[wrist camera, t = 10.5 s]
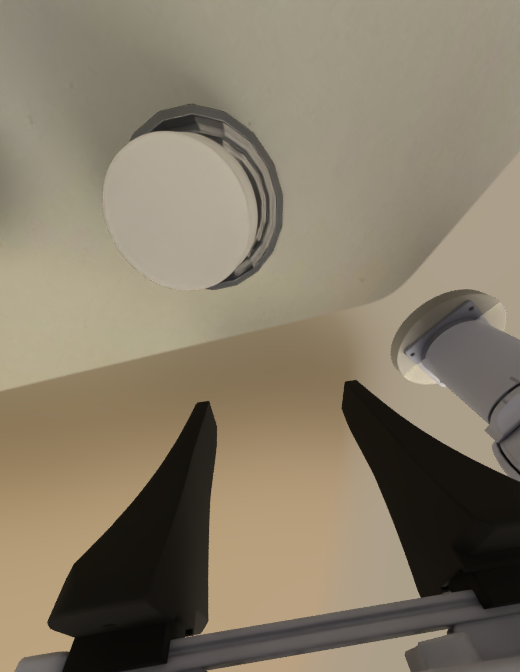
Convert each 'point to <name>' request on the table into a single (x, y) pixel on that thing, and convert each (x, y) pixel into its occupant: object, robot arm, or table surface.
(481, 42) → the table surface
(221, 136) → the bowl
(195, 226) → the pill bottle
